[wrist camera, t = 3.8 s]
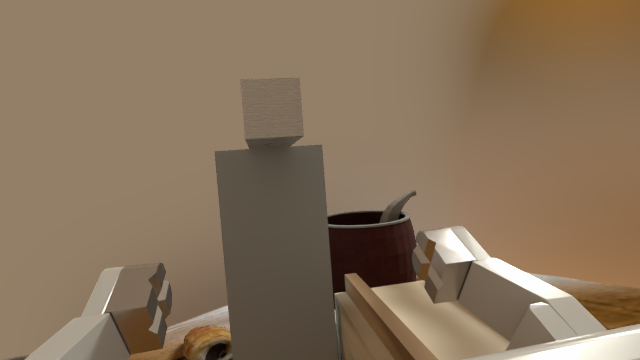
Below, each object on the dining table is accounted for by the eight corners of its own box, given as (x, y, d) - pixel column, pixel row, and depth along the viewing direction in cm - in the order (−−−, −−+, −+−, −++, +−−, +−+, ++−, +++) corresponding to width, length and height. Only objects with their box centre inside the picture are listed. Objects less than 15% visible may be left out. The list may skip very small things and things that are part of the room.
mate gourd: (341, 384, 37) (327, 205, 36) (308, 328, 50) (297, 197, 50) (456, 351, 42) (447, 192, 41) (398, 308, 55) (390, 187, 54)
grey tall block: (316, 367, 41) (299, 153, 40) (345, 468, 27) (322, 144, 26) (249, 379, 39) (230, 158, 38) (244, 492, 25) (214, 151, 24)
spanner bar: (279, 154, 37) (277, 127, 37) (303, 135, 17) (299, 77, 17) (252, 156, 37) (250, 128, 36) (245, 139, 17) (240, 79, 17)
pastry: (174, 349, 48) (172, 323, 48) (220, 332, 52) (218, 308, 52) (193, 380, 40) (191, 349, 40) (245, 358, 44) (243, 329, 44)
